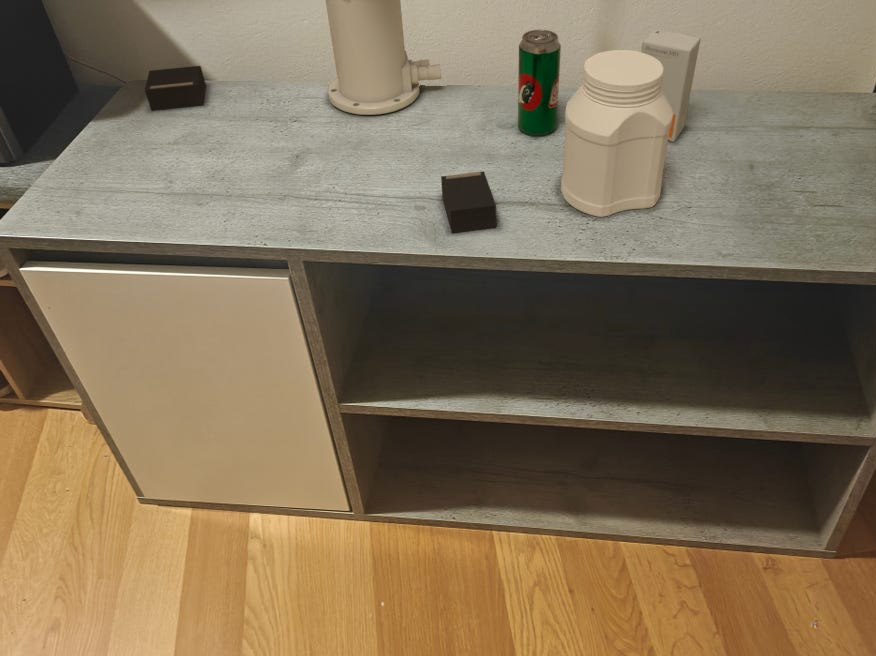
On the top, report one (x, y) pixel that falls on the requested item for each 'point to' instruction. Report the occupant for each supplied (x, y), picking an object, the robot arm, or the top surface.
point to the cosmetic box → (674, 71)
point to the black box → (468, 202)
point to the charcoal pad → (175, 88)
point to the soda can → (538, 82)
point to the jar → (616, 134)
